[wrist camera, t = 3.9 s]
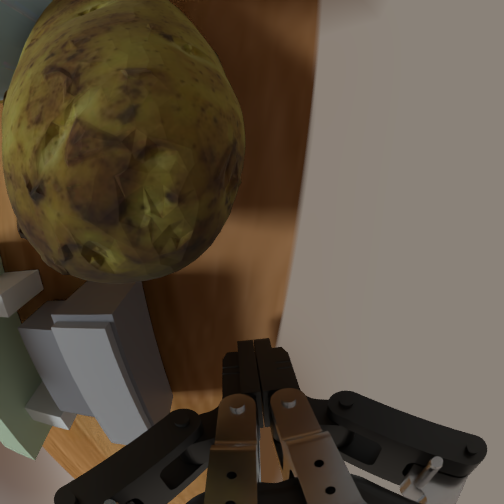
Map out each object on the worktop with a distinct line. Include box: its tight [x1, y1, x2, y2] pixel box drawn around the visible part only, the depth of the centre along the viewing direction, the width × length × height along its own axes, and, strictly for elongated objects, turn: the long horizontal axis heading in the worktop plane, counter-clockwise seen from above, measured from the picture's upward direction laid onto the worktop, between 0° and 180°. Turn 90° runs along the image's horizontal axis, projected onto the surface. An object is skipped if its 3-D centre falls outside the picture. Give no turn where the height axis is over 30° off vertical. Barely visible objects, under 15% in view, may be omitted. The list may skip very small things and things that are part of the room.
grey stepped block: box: [18, 281, 173, 445], centre depth 11 cm, size 8×6×4 cm
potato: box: [2, 0, 245, 284], centre depth 7 cm, size 8×13×8 cm, turn 6°
